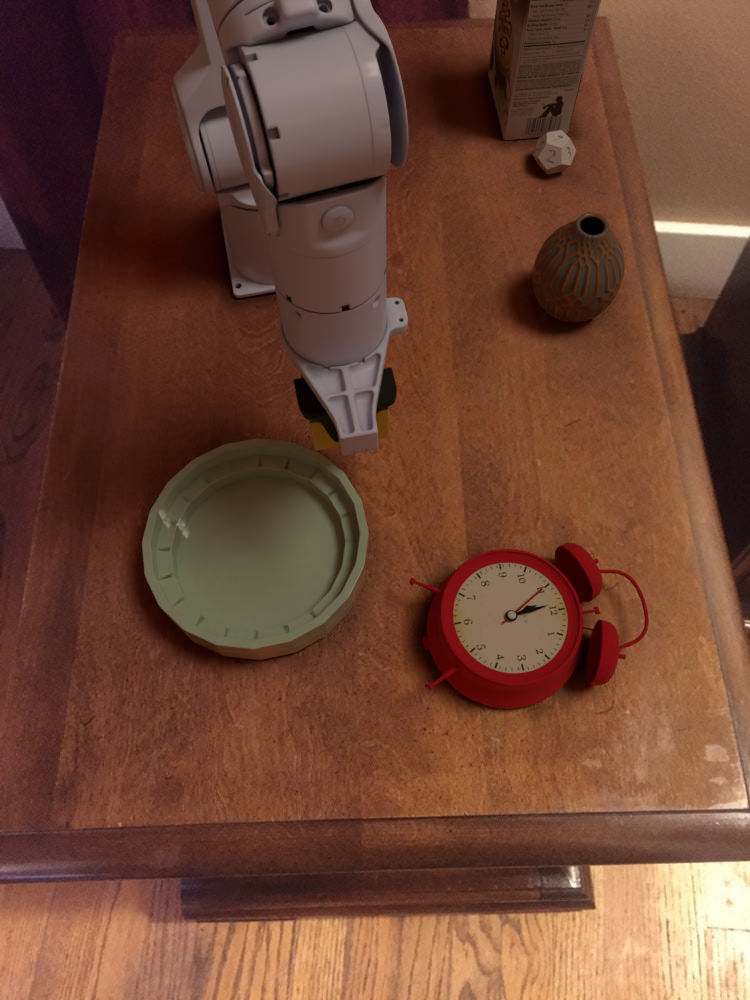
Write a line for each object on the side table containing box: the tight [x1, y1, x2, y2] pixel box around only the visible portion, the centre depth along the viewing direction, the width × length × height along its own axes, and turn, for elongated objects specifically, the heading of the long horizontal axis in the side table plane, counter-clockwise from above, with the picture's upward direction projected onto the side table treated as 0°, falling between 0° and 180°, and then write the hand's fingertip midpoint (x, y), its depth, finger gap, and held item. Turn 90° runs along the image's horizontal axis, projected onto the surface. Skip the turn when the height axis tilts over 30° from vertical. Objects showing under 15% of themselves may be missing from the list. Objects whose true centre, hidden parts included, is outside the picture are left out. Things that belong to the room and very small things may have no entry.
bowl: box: [141, 437, 371, 661], centre depth 57 cm, size 15×15×4 cm
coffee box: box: [487, 0, 602, 141], centre depth 70 cm, size 9×6×16 cm
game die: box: [532, 130, 577, 175], centre depth 73 cm, size 4×4×3 cm
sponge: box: [300, 374, 390, 452], centre depth 53 cm, size 5×3×4 cm
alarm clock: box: [408, 542, 650, 709], centre depth 54 cm, size 10×6×15 cm
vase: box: [532, 212, 626, 323], centre depth 63 cm, size 7×7×9 cm
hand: (343, 409), depth 53 cm, fingers closed on sponge, 3 cm apart
